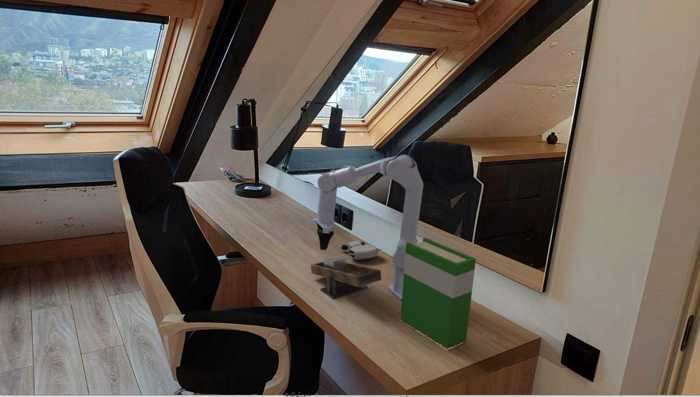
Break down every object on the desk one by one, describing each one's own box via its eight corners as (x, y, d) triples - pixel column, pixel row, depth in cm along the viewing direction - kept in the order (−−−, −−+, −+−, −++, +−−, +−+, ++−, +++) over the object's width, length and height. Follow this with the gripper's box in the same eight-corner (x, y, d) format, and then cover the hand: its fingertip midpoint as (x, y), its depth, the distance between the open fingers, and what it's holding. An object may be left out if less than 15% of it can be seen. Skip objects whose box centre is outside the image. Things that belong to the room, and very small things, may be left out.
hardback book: (400, 321, 133) (406, 242, 126) (418, 313, 137) (425, 237, 131) (447, 351, 119) (456, 265, 113) (465, 342, 124) (475, 258, 117)
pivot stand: (367, 288, 152) (368, 271, 150) (332, 299, 144) (333, 281, 142) (354, 280, 157) (355, 263, 156) (320, 290, 149) (320, 273, 147)
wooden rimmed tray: (381, 279, 141) (380, 270, 141) (358, 286, 136) (357, 277, 136) (333, 267, 162) (332, 259, 162) (311, 273, 157) (310, 264, 157)
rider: (346, 273, 153) (347, 259, 151) (334, 277, 150) (334, 262, 148) (334, 266, 158) (335, 252, 156) (322, 270, 155) (323, 255, 153)
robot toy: (336, 253, 182) (354, 264, 169) (336, 242, 182) (354, 252, 168) (364, 248, 188) (383, 259, 175) (364, 238, 187) (383, 248, 174)
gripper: (313, 200, 161) (310, 236, 165) (315, 214, 148) (311, 253, 152) (333, 201, 162) (330, 237, 166) (337, 215, 149) (333, 254, 153)
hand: (322, 244), depth 159 cm, fingers open, 7 cm apart
